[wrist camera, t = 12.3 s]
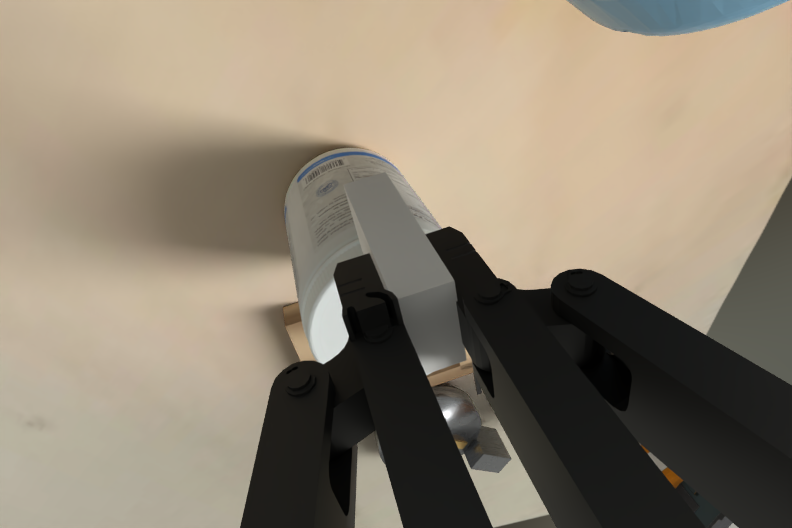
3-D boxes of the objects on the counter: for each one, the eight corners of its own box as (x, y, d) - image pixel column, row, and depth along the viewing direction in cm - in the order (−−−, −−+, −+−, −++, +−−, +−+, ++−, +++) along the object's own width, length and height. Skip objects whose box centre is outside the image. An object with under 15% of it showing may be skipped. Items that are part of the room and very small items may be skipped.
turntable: (356, 450, 51) (364, 484, 48) (409, 376, 47) (422, 408, 44) (463, 466, 58) (476, 496, 55) (517, 403, 54) (535, 432, 51)
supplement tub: (379, 268, 41) (435, 401, 29) (266, 243, 37) (279, 386, 25) (426, 163, 37) (515, 269, 25) (306, 122, 33) (343, 225, 21)
